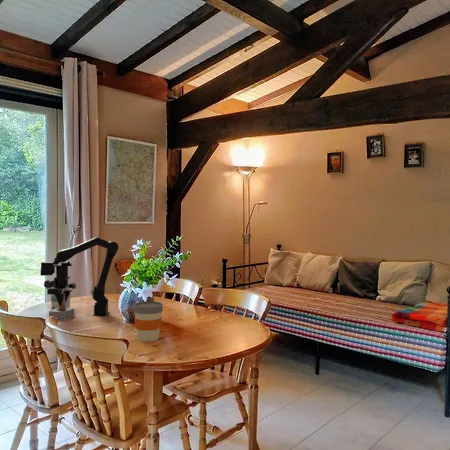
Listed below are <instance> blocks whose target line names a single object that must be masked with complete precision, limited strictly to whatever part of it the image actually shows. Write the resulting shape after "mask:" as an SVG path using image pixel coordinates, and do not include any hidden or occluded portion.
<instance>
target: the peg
mask: <svg viewBox="0 0 450 450" xmlns="http://www.w3.org/2000/svg"><path fill="white" fill-rule="evenodd" d="M64 310H65V296H64V300H63V303H62V306H59V311H64Z"/></svg>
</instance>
